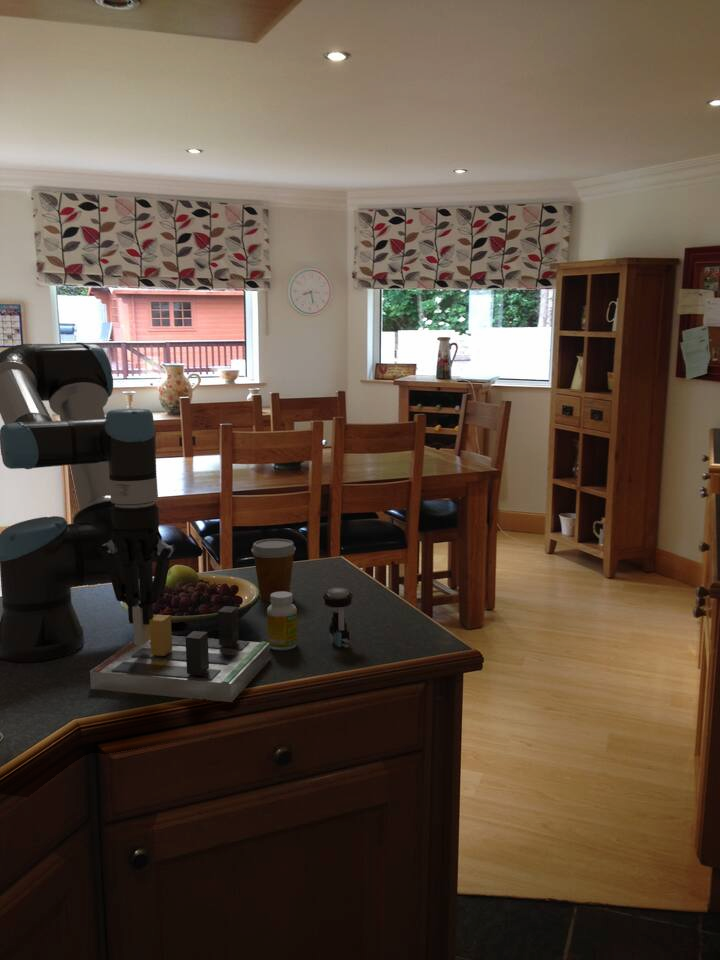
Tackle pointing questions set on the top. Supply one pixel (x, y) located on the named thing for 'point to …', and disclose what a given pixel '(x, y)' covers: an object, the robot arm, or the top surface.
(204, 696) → the panel
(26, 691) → the top surface
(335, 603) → the push button
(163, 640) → the block
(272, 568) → the disposable coffee cup
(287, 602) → the supplement bottle
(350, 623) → the top surface
